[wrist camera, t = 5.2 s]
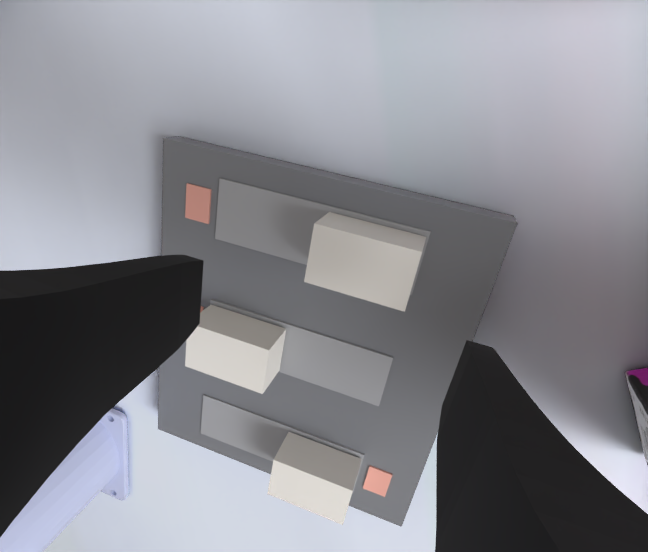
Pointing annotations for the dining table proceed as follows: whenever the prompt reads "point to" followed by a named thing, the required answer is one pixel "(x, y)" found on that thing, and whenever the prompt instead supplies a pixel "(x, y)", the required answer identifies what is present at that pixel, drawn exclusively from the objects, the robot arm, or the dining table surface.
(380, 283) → the knob
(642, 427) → the candy bar box
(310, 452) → the knob
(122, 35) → the dining table surface
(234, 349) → the knob
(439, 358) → the switch unit
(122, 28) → the dining table surface
